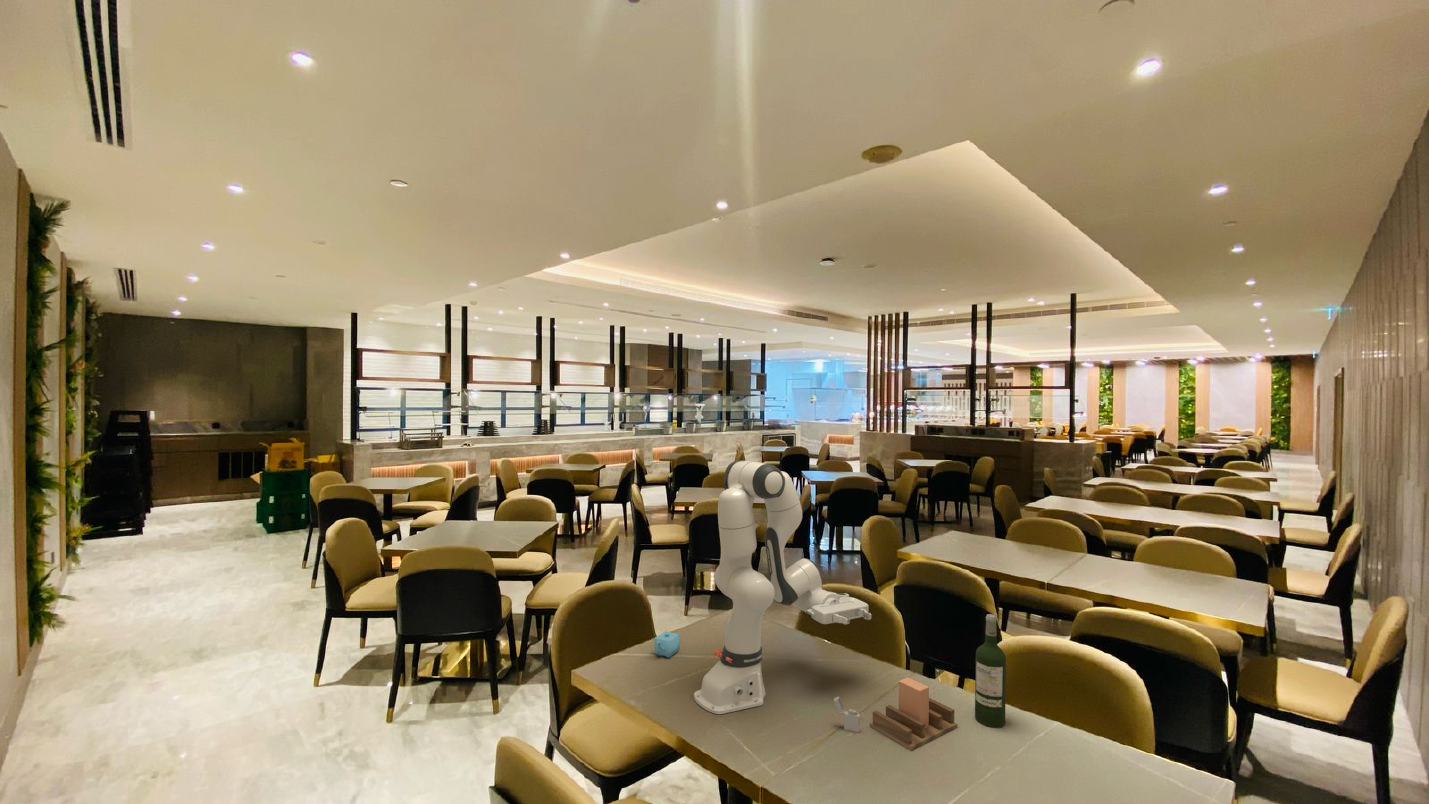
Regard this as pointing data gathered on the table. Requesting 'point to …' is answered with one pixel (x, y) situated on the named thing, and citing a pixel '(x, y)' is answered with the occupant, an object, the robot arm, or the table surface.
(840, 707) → the lighter
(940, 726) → the rack
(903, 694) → the salmon rectangular prism
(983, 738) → the table surface
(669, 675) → the table surface
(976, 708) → the wine bottle
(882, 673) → the table surface
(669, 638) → the light blue toy brick
